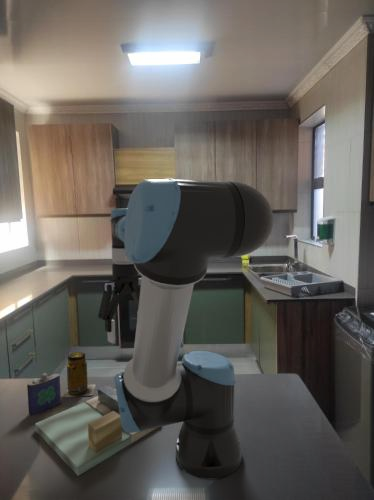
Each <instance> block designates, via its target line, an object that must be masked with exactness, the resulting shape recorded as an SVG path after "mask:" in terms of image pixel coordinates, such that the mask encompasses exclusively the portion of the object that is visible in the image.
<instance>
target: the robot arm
mask: <svg viewBox="0 0 374 500" xmlns="http://www.w3.org/2000/svg"><path fill="white" fill-rule="evenodd" d="M273 226H274V214H273V209H272V206H271V204H270V202H269V201H268V199H267V198H266V197H265V195H263V193H262V192H260V191H259V190H258V189H257V188H255V187H254V186H250V185H248V184H246V183H243V182H238V181H216V180H213V181H212V180H195V179H194V180H192V179H174V178H173V177H169V178H163V179H145V180H142V181H141V182H139V183H137V185H136V186H135V188H133V190H132V193H131V195H130V196H129V200H128V202H127V207H126V208H113V209H112V210H111V211H110V229H111V231H110V232H111V261H112V262H113V263H112V265H111V269H112V270H111V272H112V273H111V274H112V278H113V280H112V282H110V283H106V282H104V283H103V284H102V289H103V291H102V292H103V293H102V297H101V301H100V306H99V309H98V313H97V314H98V315H97V317H98V319H99V320H102V321H104V331H105V332H106V333H107V342H109V343H111V344H116V322H115V321H116V320H114V317H115V313H116V312H117V309H118V307H119V304H120V302H121V300H122V298H124V296H127V295H131V297H132V299H133V300H134V302H135V304H136V306H137V308H138V309H137V316H136V317H137V318H136V329H135V335H134V336H135V337H134V346H133V356H132V357H131V359H130V360H129V361H128V362H127V363H126V365H125V367H124V370H123V371H121V372H120V373H117V374H115V376H114V385H115V389H116V393H117V400H118V406H119V413H120V419H121V425H122V429H123V430H124V431H125V432H126V433H133V432H143V431H145V430H149V429H153V428H156V429H158V428H160V427H165V426H169V425H174V424H177V423H181V427H180V430H179V433H178V436H177V440H176V443H175V459H176V462H177V463H178V465H179V467H180V468H181V469H182V470H184V471H185V472H186V473H187V474H189V475H191V476H193V477H197V478H199V479H204V480H205V479H206V480H215V479H216V480H217V479H223V478H226V477H228V476H230V475H231V474H233V473H234V472H235V471H236V470H237V469H238V468H239V467H240V465H241V463H242V459H241V458H243V457H242V455H243V454H242V451H243V450H242V443H241V440H240V438H239V437H238V432H237V429H236V425H235V387H236V386H235V385H236V379H235V367H234V365H233V363H232V362H231V360H230V359H228V358H227V357H226V356H224V355H222V354H219V353H215V352H212V351H205V350H193V351H189V352H187V353H184V355H183V357H182V359H181V363H178V360H179V355H180V351H181V347H182V341H183V337H184V333H185V327H186V323H187V319H188V314H189V310H190V304H191V300H192V295H193V290H194V286H195V284H196V283H199V282H200V281H202V280H203V278H204V277H205V276H206V275H207V271H208V267H209V262H210V260H212V259H213V260H214V259H229V258H231V259H232V258H237V257H243V256H246V255H250V254H251V253H253V252H255V251H257V250H258V249H260V248H261V247H262V246H264V244H265V243H266V242H267V240H268V239H269V237H270V235H271V234H272V231H273ZM139 275H141V277H139Z"/></svg>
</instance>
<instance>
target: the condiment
mask: <svg viewBox="0 0 374 500" xmlns="http://www.w3.org/2000/svg"><path fill="white" fill-rule="evenodd" d="M87 363H88V362H87V361H86V353H85V352H82V351H75V352H71V353H70V354H69V355H68V356H67V364H66V374H67V375H66V378H67V380H66V382H67V390H66V392H65V394H64V397H63V398H75V397H78V398H79V397H88V396H93V395H94V392H95V389H96V386H97V384H95V383H92V384H88V364H87Z"/></svg>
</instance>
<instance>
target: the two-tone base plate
mask: <svg viewBox="0 0 374 500" xmlns="http://www.w3.org/2000/svg"><path fill="white" fill-rule="evenodd" d="M113 389H114V390H116V388H113ZM34 425H35V432H36V433H37V434H38V435H39V436H40V437H41V438H42V440H44V442H46V444H47V445H48V446H49V445H50V448H51V449H52V450H53V451H54V452H55V453H56V454H57V455H58V456H59V458H60V459H61V460H62V461H63V462H64V463H65V464H66V465H67V466H68V467H69V468H70V469H71V470H72V471H73V473H74V474H75V475H76V476H77V477H79V476H80V475H82V474H83V473H85V472H87V471H89V470H90V469H92V468H94V467H96V466H97V465H98V464H101V463H102V462H104V461H105V460H107V459H108V458H111V457H112V456H113V455H115V454H116V453H117V454H118V452H120V451H121V450H123V449H125V448H127V447H128V446H131V445H132V444H134V443H135V442H137V441H138V440H139V439H142V437H145V436H146V435H148V434H150V433H151V432H153V431H155V430H157V428H153V429H149V430H145V431H143V432H133V433H126V432H125V431H124V430H123V429H122V425H121V419H120V415H119V414H118V413H116V412H115V411H113V410H111V409H110V408H108V407H107V406H105V405H104V404H103V403H101V402H100V401H98V395H96V396H94V397H93V398H91V399H88V400H85V401H84V402H80V403H79V404H76V405H74V406H72V407H69V408H68V409H67V408H66V409H65V410H62V411H61V412H58V413H56V414H54V415H52V416H49V417H47V418H45V419H43V420H39V421H38V422H36V423H35V424H34Z"/></svg>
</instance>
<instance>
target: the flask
mask: <svg viewBox="0 0 374 500" xmlns="http://www.w3.org/2000/svg"><path fill="white" fill-rule="evenodd" d="M26 388H27V405H28V415H29V417H31V418H32V417H36V416H39V415H42V414H45V413H46V412H48V411H51V410H53V409H54V408H55V409H56V408H57V407H59V406H60V405H61V403H62V398H61V397H62V396H61V393H62V392H61V376H60V374H59V373H54V374H53V373H52V374H51V375H49V376H48V374H47V372H43V373H42V376H41V377H40V378H39V379H36V380H32V381H30V382H29V383H27V385H26Z"/></svg>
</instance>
